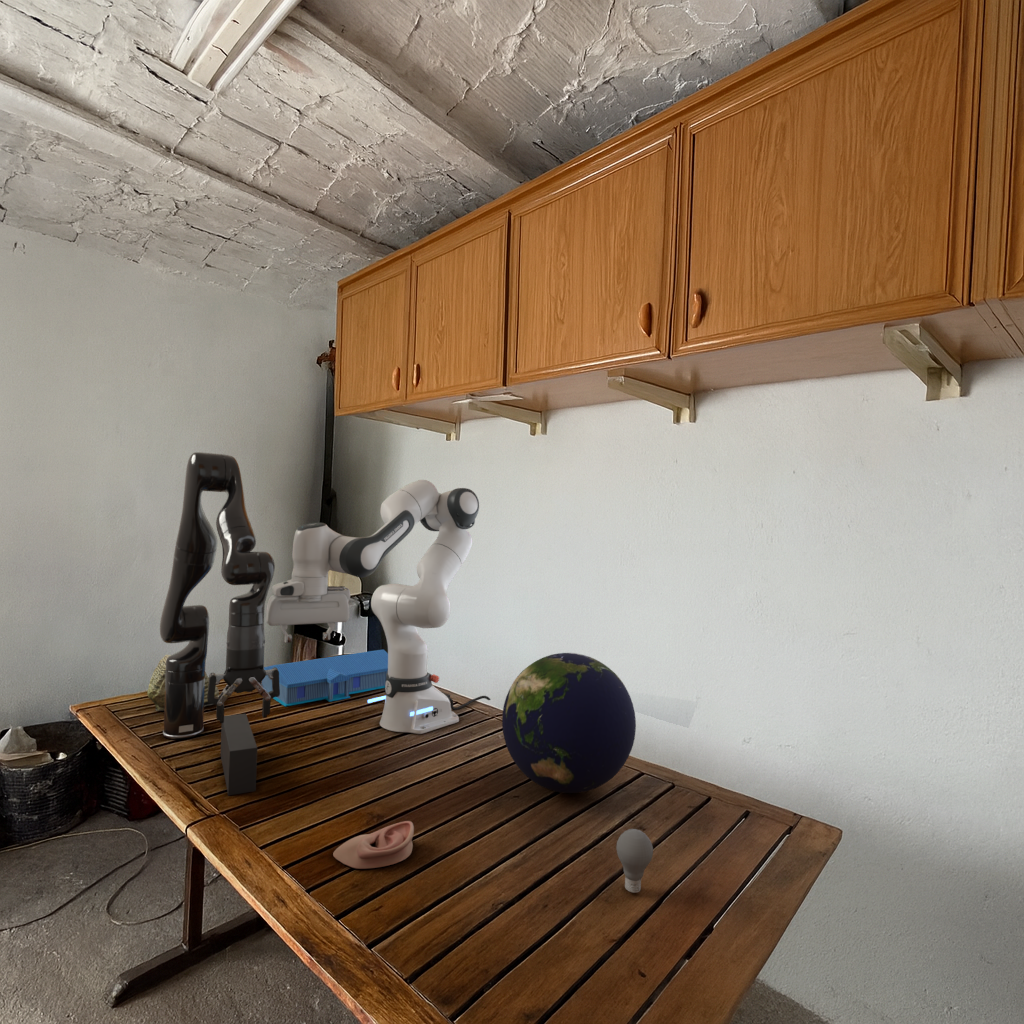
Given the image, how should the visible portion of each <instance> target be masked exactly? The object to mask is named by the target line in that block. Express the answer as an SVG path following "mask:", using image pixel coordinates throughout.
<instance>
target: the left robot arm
mask: <svg viewBox="0 0 1024 1024" xmlns="http://www.w3.org/2000/svg"><path fill="white" fill-rule="evenodd" d="M203 492H215V493H226V496H227V498H226V499H225V502H224V504H223V505H222V507H221V508H220V510H219V512H218V513H217V516H216V522H215V525H216V530H217V534H218V537H219V541H220V543H221V548H222V562H221V569H220V571H221V573H220V574H221V577H222V579H223V580H224V582H226V583H227V584H228V585H230V586H247V585H250V586H251V585H252V586H251V588H250V589H249V591H248V592H245V593H243V594H239V595H236V596H233V597H232V598H231V599H230V601H229V605H228V606H229V607H228V608H229V610H228V628H227V633H226V650H225V651H226V653H225V657H226V658H225V669H224V672H223V673H215V672H210V673H209V675H208V677H209V684H208V694H207V700H208V703H209V704H213V705H215V706H216V709H215V711H216V712H215V717H216V720H217V722H218V721H219V723H220V724H222V723H224V716H225V702H226V701H227V700H228V699H229V698H230V697H231V696H232V695H233V694H234V693H236V694H242V693H244V692H246V693H252V692H253V691H255V690H256V691H257V693H259V695H261V697H262V704H261V705H262V707H261V708H262V709H261V715H262V718H263V719H267V717H268V716H269V715H270V713H271V701H272V700H273V698H274V697H278V696H279V695H280V687H279V671H278V669H277V668H276V667H274V668H272V669H270V670H264V667H265V643H266V638H265V637H266V631H265V607H266V601H267V597H268V593H269V591H270V590H269V589H270V587H271V584H272V581H273V578H274V576H275V571H276V570H275V569H276V565H275V564H276V563H275V561H274V560H275V559H274V558H273V556H272V555H271V553H268V552H267V551H253V550H254V549H255V547H256V545H257V538H256V534H255V531H254V529H253V527H252V524H251V521H250V518H249V515H248V511H247V507H246V506H247V505H246V499H245V492H244V485H243V480H242V474H241V469H240V465H239V463H238V461H237V459H236V458H235V457H234V456H233V455H229V454H224V453H213V452H200V451H196V452H192V453H191V455H190V456H189V458H188V460H187V464H186V469H185V477H184V490H183V500H182V509H181V515H180V521H179V527H178V532H177V537H176V541H175V547H174V553H173V558H172V567H171V575H170V580H169V585H168V589H167V593H166V596H165V600H164V603H163V608H162V612H161V616H160V621H159V636H160V638H161V640H162V641H163V642H164V643H166V644H178V643H187V645H186V646H184V647H183V648H182V649H180V650H179V651H177V652H175V653H173V654H170V655H171V656H169V657H168V658H167V660H166V674H165V705H164V710H163V730H162V737H164V738H166V739H169V740H185V739H190V738H191V739H192V738H194V737H197V736H199V735H202V734H203V732H204V730H205V729H204V726H205V725H204V722H205V721H204V718H205V706H204V693H205V672H206V664H207V663H206V660H207V656H208V646H209V645H208V643H209V633H210V613H209V610H208V609H207V607H206V606H205V605H203V604H194V605H193V604H192V605H185V603H186V600H187V599H188V597H189V595H190V594H191V592H192V591H193V590H194V589H195V588H196V587H197V586H198V585H199V584H200V583H201V582H202V580H204V578H206V576H207V575H208V574H209V573H210V571H211V570H212V568H213V566H214V563H215V559H216V554H217V551H218V550H217V548H218V537H217V534H216V532H215V530H214V528H213V526H212V525H211V522H210V521H209V519H208V518H207V516H206V513H205V511H204V508H203V505H202V494H203ZM266 675H267V676H268V677H269V679H270V680H272V691H270V692H268V691H267V690H266V689H265V688H264V687H263V685H262V680H263V679H264V678H265V676H266ZM222 680H223V681H224V682H225V683H226V686H225V687H224V688H223V690H222V691H221V693H219V696H218V697H215V686H216V687H217V685H219V684H220V682H221V681H222Z"/></svg>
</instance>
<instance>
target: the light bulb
mask: <svg viewBox="0 0 1024 1024" xmlns="http://www.w3.org/2000/svg"><path fill="white" fill-rule="evenodd" d="M615 849H616V854H617V857H618V859H619V861H620V863H621V865H622V867H623V873H624V874H623V875H624V876H625V878H624V888H625V890H627V891H628V892H630V893H634V894H635V893H639V892H640V891H641V889H642V887H641V886H642V879H643V877H644V875H645V871H646V868H647V867H648V866H649V864H650V863H651V861H652V859H653V855H654V847H653V843H652V841H651V838H649V836H648V835H647V834H646V833H645V832H643V831H642V830H641V829H636V828H629V829H627V830H625V831H623V832H622V833H621V834H620V835H619V837H618V839H617V841H616V847H615Z"/></svg>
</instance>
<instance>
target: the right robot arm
mask: <svg viewBox="0 0 1024 1024" xmlns="http://www.w3.org/2000/svg"><path fill="white" fill-rule="evenodd" d="M479 510H480V501H479V498H478V495H477V494H476V493H475V492H474V491H473V490H471V489H470V488H466V487H458V488H454V489H452V490H447V491H445V492H442V493H440V492H439V491H438V489H437V487H436V486H435V485H434V484H433V483H432V482H431V481H430V480H426V479H418V480H415V481H413V482H410V483H408V484H406V485H404V486H402V487H400V488H399V489H398V490H396V491H394V492H393V493H391V494H389V495H388V496H387V497H386V498H385V499H384V500H383V501H382V503H381V505H380V517H381V520H382V522H383V525H382V526H381V527H379V529H378V530H376V531H375V532H374V533H373V534H371V535H369V536H362V537H354V536H348V535H343V534H341V533H338V532H336V530H333V529H332V528H330V527H329V526H328V525H327V524H326V523H324V522H307V523H303V524H301V525H300V526H297V528H296V530H295V532H294V535H293V541H292V542H293V543H292V563H293V568H292V572H291V579H288V580H285V581H281V582H278V583H275V584H273V585H272V586H271V592H272V595H270V596H269V598H268V601H267V605H266V610H265V611H266V612H265V622H266V624H267V625H269V626H270V627H274V626H275V627H276V626H280V630H281V632H282V634H283V635H284V643H285V644H289V643H292V641H293V640H292V639H293V635H292V634H289V633H288V632H287V630H288V627H289V626H294V625H315V624H327V626H328V628H327V630H326V631H325V632H322V640H323V641H330V640H331V634H332V632H333V630H334V629H335V628H336V623H346V622H348V620H349V619H350V603H349V602H350V600H351V590H350V589H349V588H348V587H346V586H344V585H339V586H334V585H329V571H332V572H336V573H341V574H347V575H350V576H353V577H356V578H366V577H369V576H370V575H372V574H374V573H375V571H376V570H377V569H378V568H379V566H380V565H381V563H382V561H383V560H384V559H385V557H386V556H387V555H388V554H389V553H390V552H391V551H392V550H394V548H395V547H396V546H398V545H399V544H400V543H401V542H402V541H403V540H404V539H405V538H406V537H407V536H408V535H409V534H410V533H411V532H412V530H413V529H414V527H415V526H416V524H418V523H419V522H420V524H421V525H422V526H423V528H425V529H426V530H427V531H430V532H438V534H437V537H436V539H435V540H434V541H433V542H432V543H431V545H430V546H429V547H428V549H427V550H426V552H425V553H424V554H423V556H421V558H420V559H419V561H418V562H417V564H416V573H417V576H418V579H419V580H418V581H417V583H416V584H414V585H407V584H401V583H388V584H381V585H379V586H378V587H377V588H376V589H375V590H374V592H373V594H372V596H371V600H370V608H371V611H372V613H373V614H374V615H375V616H376V617H377V619H378V620H379V622H380V625H381V626H382V629H383V632H384V635H385V638H386V645H387V653H388V673H387V674H386V683H385V688H384V691H385V695H383V696H379V697H373V698H370V699H367V704H371V703H373V702H379V701H383V700H384V706H383V710H382V714H381V717H380V721H379V726H380V727H381V728H383V729H385V730H387V731H390V732H397V733H411V734H417V735H422V734H426V733H429V732H432V731H435V730H438V729H441V728H444V727H447V726H450V725H454V724H457V723H459V721H460V718H459V715H458V714H457V713H456V712H455V711H457V710H461V709H462V708H464V707H467V706H469V705H470V704H472V703H475V702H476V701H479V700H482V699H486V700H487V701H491V698H490V697H489V696H488V695H480V696H478V697H475V698H472V699H470V700H468V701H467V702H465V703H462V704H461V705H459V706H456V707H455V706H454V700H453V699H452V698H451V694H449V693H446V692H444V691H441V690H439V689H438V688H436V686H434V685H433V683H435V684H438V683H439V681H440V676H439V675H436V674H434V673H433V674H431V673H430V672H428V661H429V660H428V659H429V648H428V647H429V646H428V645H427V642H426V641H425V640H424V639H423V638H422V636H421V635H420V633H419V630H418V628H419V629H437V628H441V627H443V626H444V625H445V624H446V623H447V622H448V620H449V618H450V615H451V611H452V605H451V602H450V599H449V597H448V589H449V587H450V584H451V583H452V581H453V579H454V578H455V576H456V575H457V573H458V572H459V570H460V569H461V568H462V566H463V564H464V563H465V561H466V559H467V558H468V555H469V554H470V552H471V548H472V546H473V536H472V535H471V533H470V532H469V530H470V529H471V528H473V526H475V523H476V518H477V517H478V514H479Z"/></svg>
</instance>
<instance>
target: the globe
mask: <svg viewBox="0 0 1024 1024" xmlns="http://www.w3.org/2000/svg"><path fill="white" fill-rule="evenodd" d="M501 715H502V716H501V718H502V719H501V727H502V734H503V739H504V742H505V747H506V749H507V751H508V753H509V756H510V757H511V759H512V761H513V762H514V763H515V765H516V767H518V769H519V770H520V772H522V773H523V775H525V776H526V777H527V778H528V779H529V780H531V781H532V782H534V783H535V784H536V785H538V786H540V787H542V788H544V789H547V790H550V791H553V792H557V793H561V794H580V793H581V794H582V793H585V792H589V791H592V790H594V789H597V788H599V787H601V786H603V785H605V784H606V783H607V782H609V781H610V780H612V779H613V778H614V777H615V776H616V775H617V774H618V773H619V772H620V770H621V769H622V768H623V766H624V765H625V763H626V762H627V761H628V759H629V757H630V755H631V752H632V749H633V746H634V743H635V738H636V732H637V730H636V729H637V720H636V712H635V708H634V703H633V700H632V697H631V695H630V693H629V691H628V689H627V687H626V685H625V684H624V682H623V681H622V680H621V678H620V677H619V675H618V674H617V673H615V671H613V670H612V669H611V668H610V667H609V666H607V665H606V664H604V663H603V662H601V661H600V660H598V659H596V658H593V657H591V656H589V655H585V654H581V653H577V652H559V653H558V652H557V653H554V654H553V653H552V654H548V655H546V656H543V657H541V658H539V659H536V661H533V662H532V663H531V664H529V665H528V666H527V667H525V668H524V669H522V671H521V672H520V673H519V674H518V675H517V677H516V678H515V679H514V680H513V682H512V684H511V686H510V688H509V689H508V691H507V694H506V696H505V700H504V703H503V707H502V714H501Z"/></svg>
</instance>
